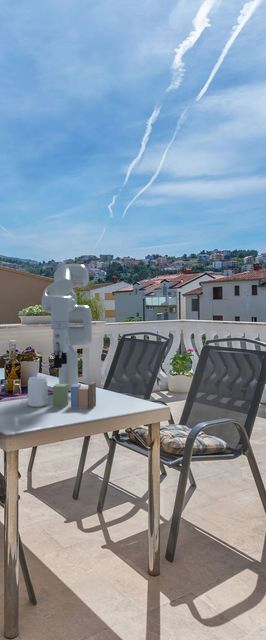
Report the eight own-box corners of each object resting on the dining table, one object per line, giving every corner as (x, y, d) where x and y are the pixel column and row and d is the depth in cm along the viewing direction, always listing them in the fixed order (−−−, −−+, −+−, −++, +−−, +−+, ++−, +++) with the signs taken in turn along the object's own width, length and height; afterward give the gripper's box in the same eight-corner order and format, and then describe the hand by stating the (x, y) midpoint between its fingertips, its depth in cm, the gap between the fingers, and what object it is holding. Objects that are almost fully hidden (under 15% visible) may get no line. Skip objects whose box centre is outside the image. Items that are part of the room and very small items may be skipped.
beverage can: (28, 408, 211) (28, 379, 210) (27, 404, 219) (27, 376, 218) (48, 407, 213) (47, 378, 212) (46, 403, 220) (46, 375, 220)
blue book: (74, 404, 217) (73, 384, 217) (80, 404, 217) (80, 384, 216) (70, 408, 211) (70, 386, 210) (77, 408, 210) (77, 386, 210)
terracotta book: (81, 405, 217) (81, 386, 216) (90, 405, 216) (90, 386, 216) (78, 408, 210) (78, 389, 210) (87, 408, 210) (87, 389, 210)
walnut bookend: (91, 404, 217) (91, 381, 216) (96, 404, 216) (95, 381, 216) (88, 408, 210) (88, 384, 209) (93, 408, 210) (93, 384, 209)
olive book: (56, 404, 218) (56, 383, 217) (68, 404, 217) (68, 383, 217) (53, 407, 211) (53, 386, 211) (65, 407, 211) (64, 386, 211)
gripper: (64, 327, 204) (64, 369, 205) (73, 323, 221) (73, 362, 222) (46, 327, 205) (46, 369, 206) (56, 323, 222) (56, 362, 223)
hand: (60, 365), depth 214 cm, fingers open, 9 cm apart
